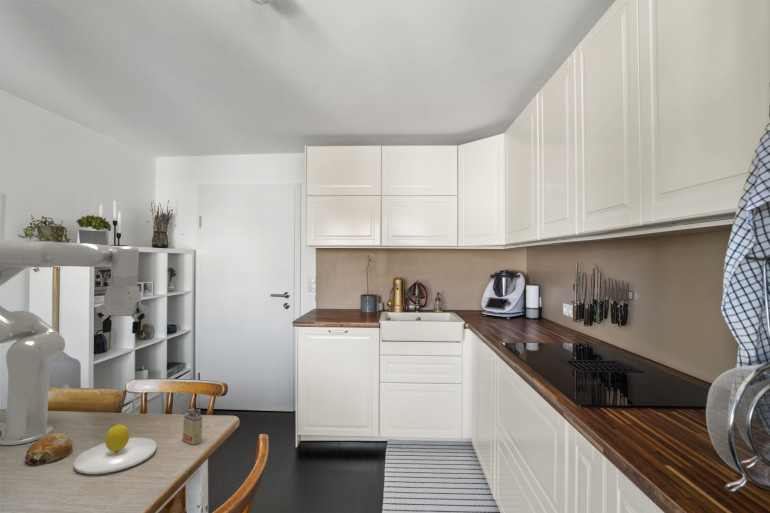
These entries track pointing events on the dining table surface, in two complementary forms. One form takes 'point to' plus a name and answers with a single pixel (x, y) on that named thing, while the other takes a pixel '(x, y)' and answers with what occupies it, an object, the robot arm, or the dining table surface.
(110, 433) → the lemon
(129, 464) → the plate
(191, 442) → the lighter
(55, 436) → the bread roll
